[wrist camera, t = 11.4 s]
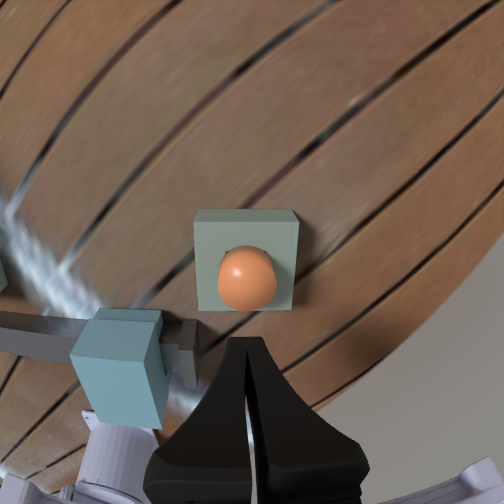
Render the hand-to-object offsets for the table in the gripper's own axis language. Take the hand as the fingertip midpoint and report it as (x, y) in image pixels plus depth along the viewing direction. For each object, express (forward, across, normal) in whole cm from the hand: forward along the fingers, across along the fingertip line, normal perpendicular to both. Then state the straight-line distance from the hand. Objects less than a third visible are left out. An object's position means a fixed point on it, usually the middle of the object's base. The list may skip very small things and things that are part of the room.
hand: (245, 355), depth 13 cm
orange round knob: (+10, 0, 0) cm, 10 cm away
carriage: (+10, +8, +7) cm, 15 cm away
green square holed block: (+10, 0, 0) cm, 10 cm away
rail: (+10, +14, +7) cm, 19 cm away
